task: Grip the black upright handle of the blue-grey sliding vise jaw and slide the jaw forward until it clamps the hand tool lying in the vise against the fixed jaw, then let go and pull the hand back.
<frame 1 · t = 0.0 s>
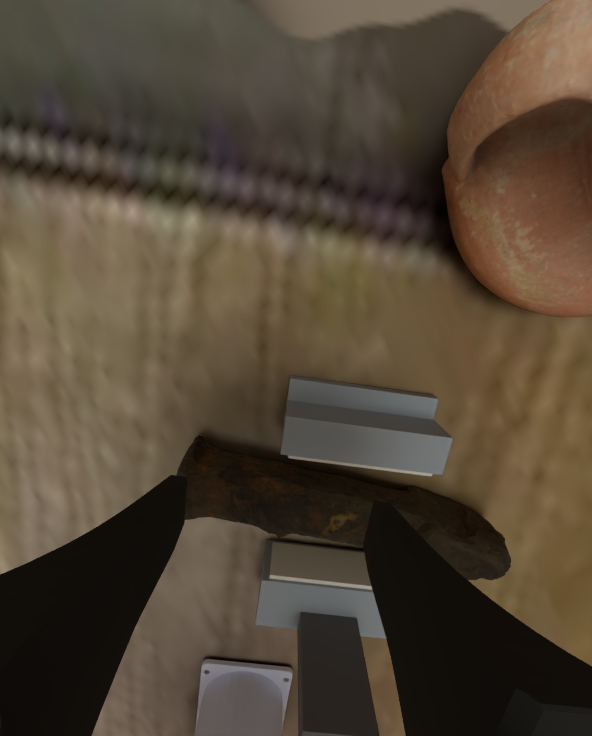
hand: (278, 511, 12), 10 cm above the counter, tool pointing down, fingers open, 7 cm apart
ceramic jug: (537, 189, 18), on the counter
fixed jaw: (355, 421, 22), on the counter
free jaw: (332, 628, 20), point 5 cm above the counter, slide at 0.0 cm
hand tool: (342, 477, 23), on the counter
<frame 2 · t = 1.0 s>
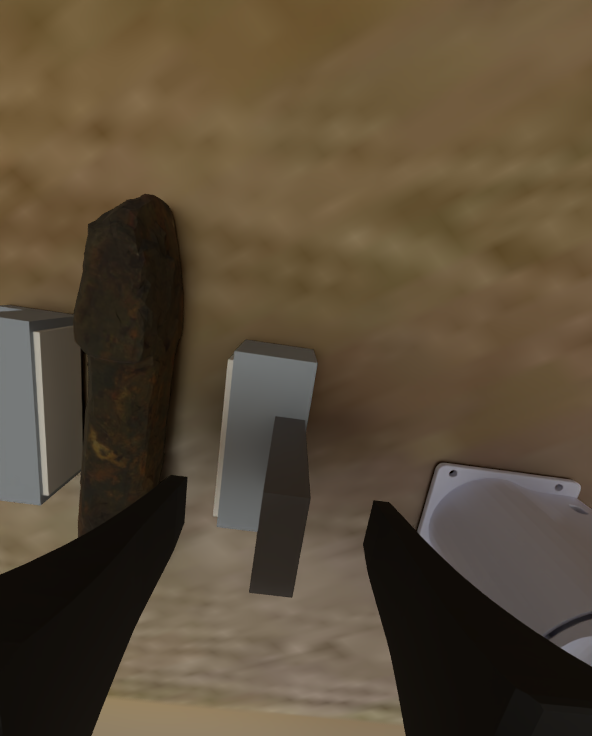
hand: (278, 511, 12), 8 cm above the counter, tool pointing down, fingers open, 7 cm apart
fixed jaw: (61, 394, 19), on the counter
free jaw: (257, 463, 15), point 5 cm above the counter, slide at 0.0 cm
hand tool: (140, 401, 19), on the counter
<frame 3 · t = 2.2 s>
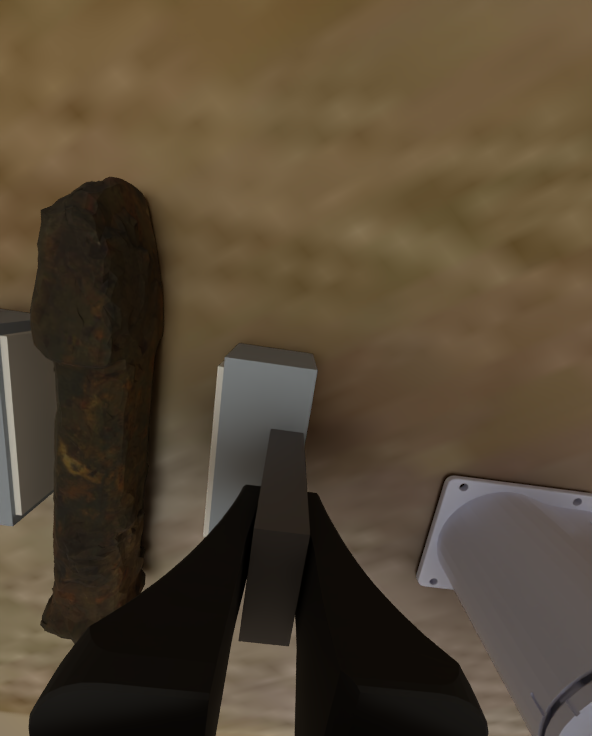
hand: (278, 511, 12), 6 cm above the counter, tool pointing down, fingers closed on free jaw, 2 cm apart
fixed jaw: (38, 402, 17), on the counter
free jaw: (251, 482, 13), point 5 cm above the counter, slide at 0.0 cm, touching gripper
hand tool: (122, 408, 18), on the counter
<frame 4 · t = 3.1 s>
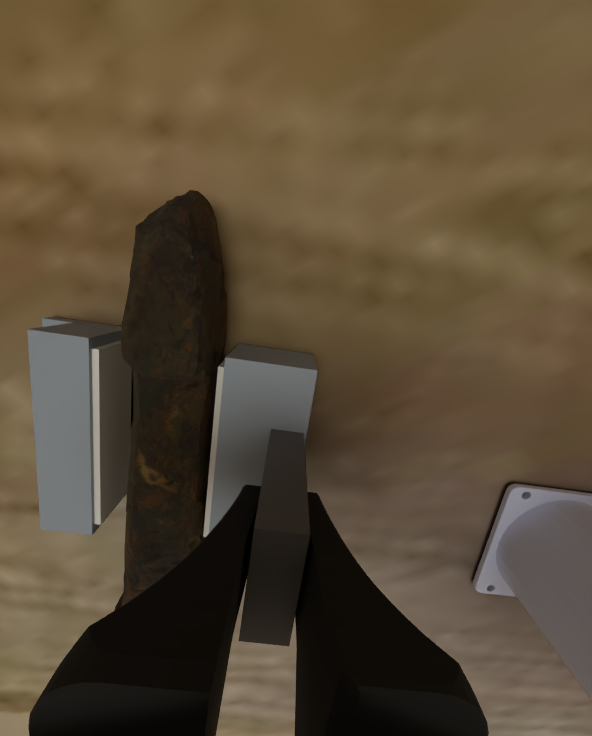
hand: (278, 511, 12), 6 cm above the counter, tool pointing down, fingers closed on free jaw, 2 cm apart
fixed jaw: (107, 412, 17), on the counter
free jaw: (251, 482, 13), point 5 cm above the counter, slide at 3.8 cm, touching gripper
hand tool: (181, 417, 18), on the counter
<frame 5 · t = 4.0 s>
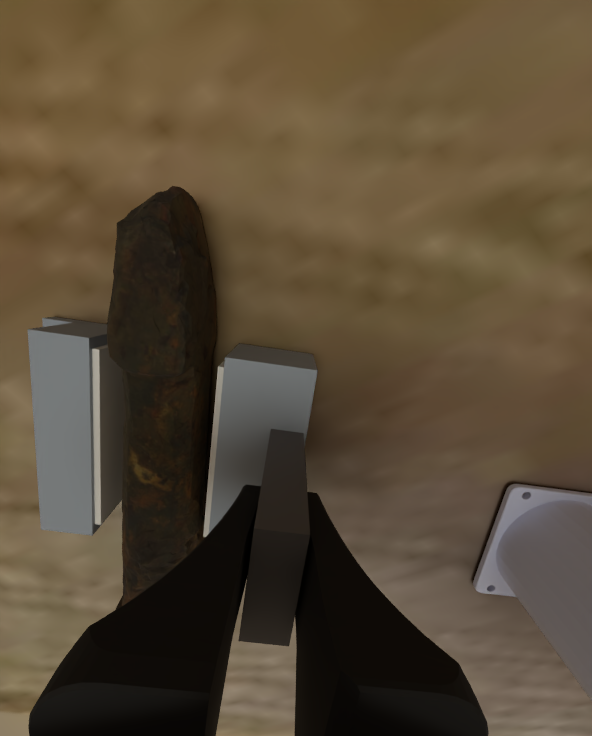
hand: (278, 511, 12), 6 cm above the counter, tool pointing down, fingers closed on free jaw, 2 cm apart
fixed jaw: (108, 412, 17), on the counter
free jaw: (251, 482, 13), point 5 cm above the counter, slide at 3.8 cm, touching gripper
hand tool: (175, 416, 18), on the counter
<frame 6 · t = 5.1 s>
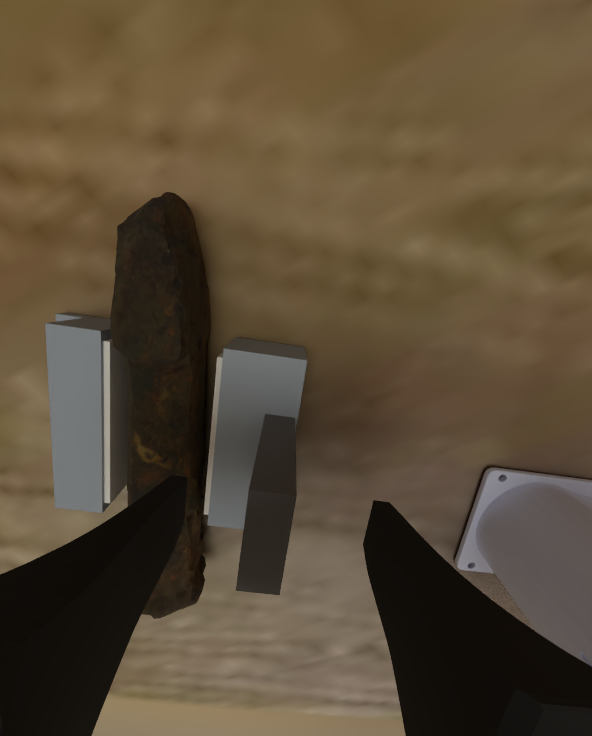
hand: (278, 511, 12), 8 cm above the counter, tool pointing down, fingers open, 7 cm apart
fixed jaw: (115, 401, 19), on the counter
free jaw: (247, 461, 15), point 5 cm above the counter, slide at 3.9 cm
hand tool: (174, 404, 19), on the counter
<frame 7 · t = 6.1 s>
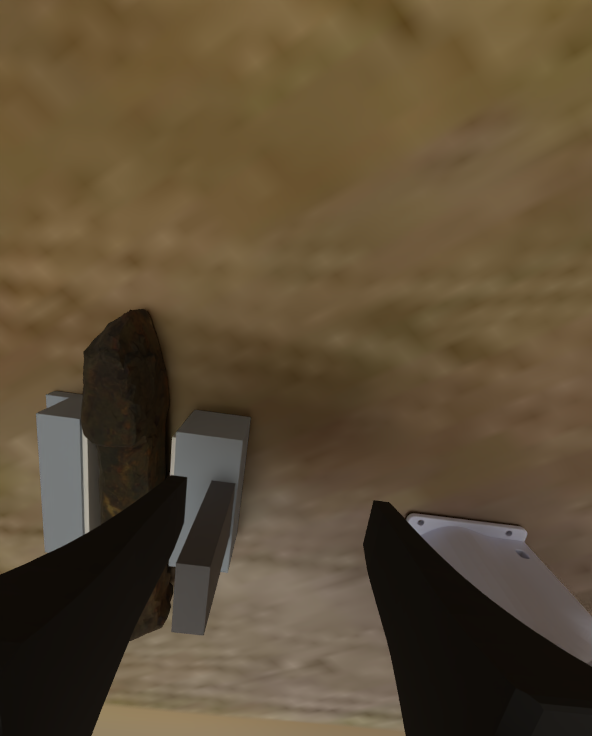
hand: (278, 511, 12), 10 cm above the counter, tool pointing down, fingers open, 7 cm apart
fixed jaw: (96, 459, 23), on the counter
free jaw: (195, 520, 18), point 5 cm above the counter, slide at 3.9 cm
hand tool: (143, 460, 23), on the counter
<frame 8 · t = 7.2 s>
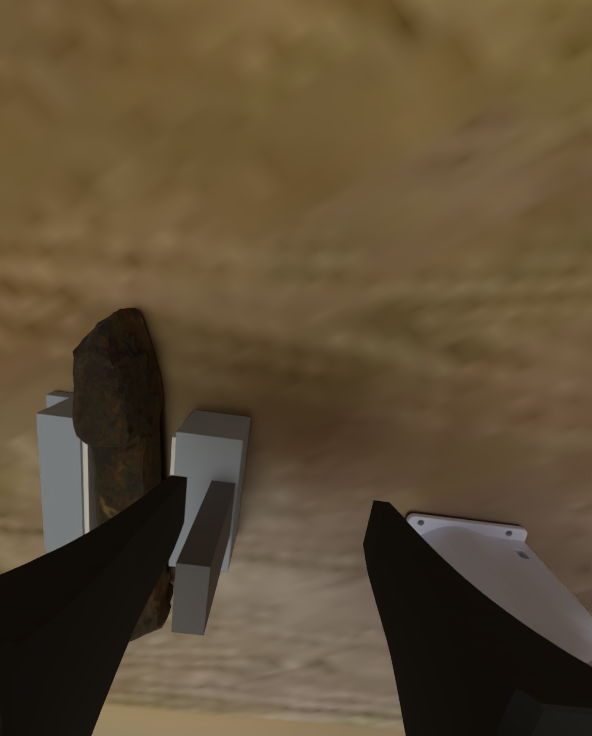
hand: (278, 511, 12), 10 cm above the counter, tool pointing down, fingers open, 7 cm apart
fixed jaw: (96, 459, 23), on the counter
free jaw: (195, 520, 18), point 5 cm above the counter, slide at 3.9 cm
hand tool: (140, 460, 23), on the counter
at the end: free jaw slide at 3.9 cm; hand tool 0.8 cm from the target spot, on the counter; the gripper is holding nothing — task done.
